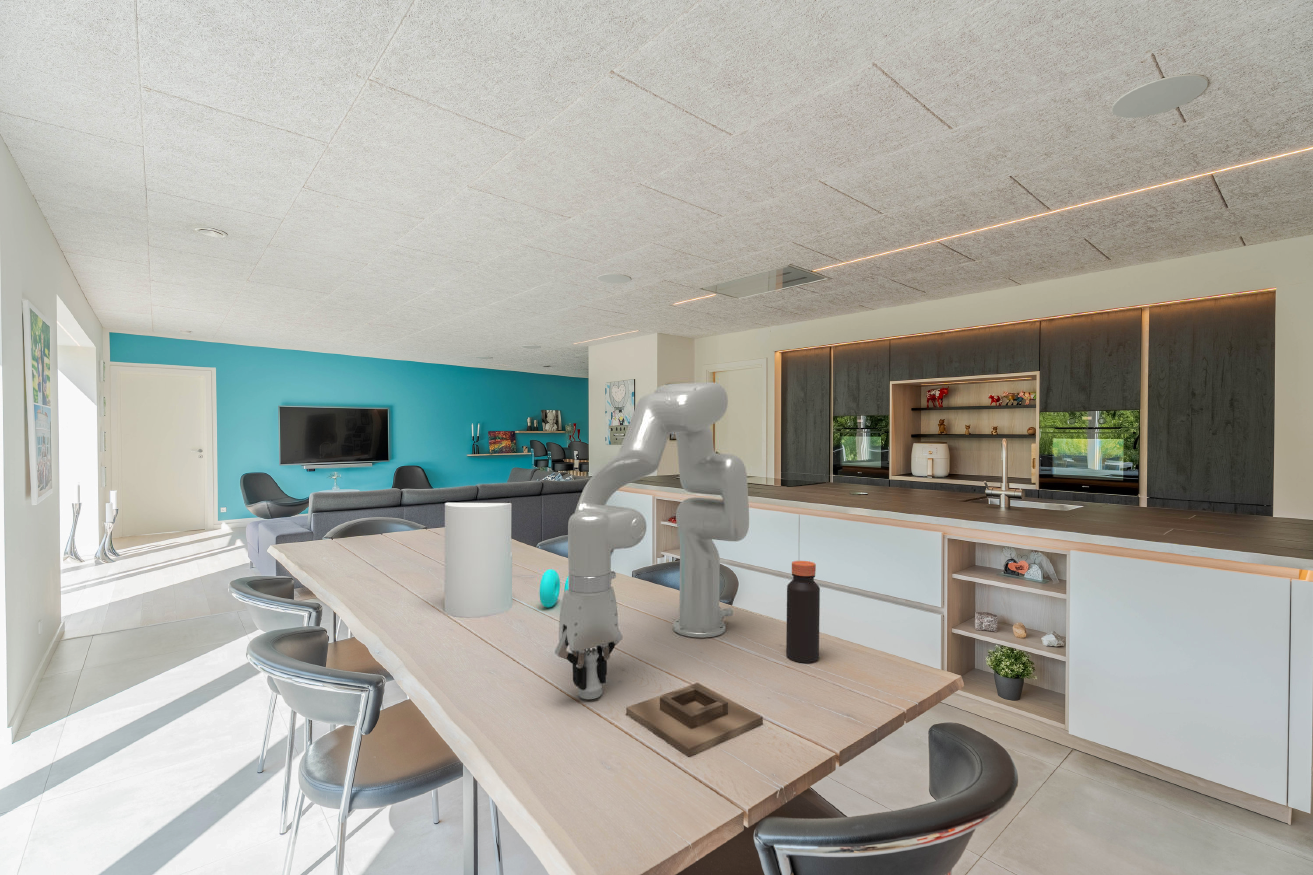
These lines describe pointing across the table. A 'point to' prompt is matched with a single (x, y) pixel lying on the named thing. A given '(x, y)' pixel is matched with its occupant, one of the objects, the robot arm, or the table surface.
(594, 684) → the rook chess piece
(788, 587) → the bottle
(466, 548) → the cylinder
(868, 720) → the table surface
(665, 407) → the robot arm
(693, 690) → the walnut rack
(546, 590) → the donuts
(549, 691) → the table surface
